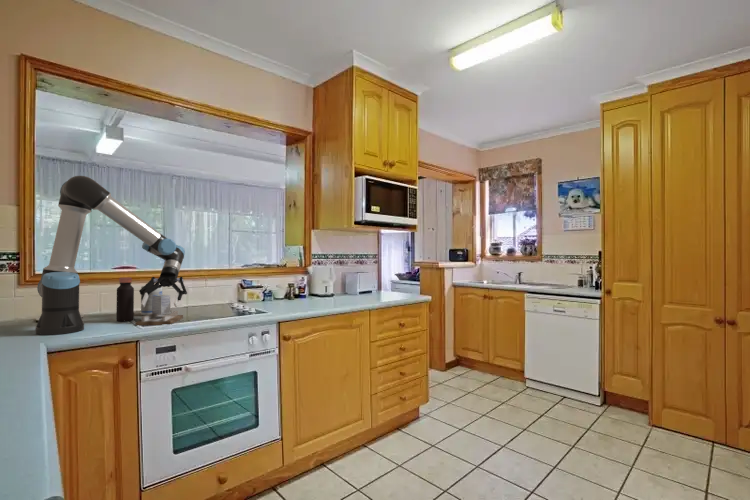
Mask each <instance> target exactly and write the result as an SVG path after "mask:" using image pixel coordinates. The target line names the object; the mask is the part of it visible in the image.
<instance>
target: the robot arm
mask: <svg viewBox="0 0 750 500" xmlns="http://www.w3.org/2000/svg"><path fill="white" fill-rule="evenodd" d="M59 195H60V197H59V201H58V205H57V206H58V207H59V208H60V210H61V213H60V215H59V221H58V223H57V224H58V225H57V229H56V233H55V238H54V240H53V247H52V251H51V255H50V259H49V263H48V265H46V266H45V267H43V269H42V274H41V276H40V277H41V278H40V280H39V282H38V283H37V287H36V288H37V289H36V290H37V293H38V295H39V296H40V297H41V314H40V317H39V319H38V321H37V324H36V326H35V330H34V331H35V332H34V333H35V334H36V335H42V336H43V335H44V336H45V335H46V336H50V335H52V336H53V335H63V334H71V333H76V332H81V331H83V330H84V329H85V322H84V320H83V317H82V314H81V312H80V283H81V280H80V275H79V274H78V271H77V270H76V268H75V266H76V261H77V258H78V257H77V256H78V252H79V248H80V243H81V239H82V235H83V231H84V226H85V221H86V216H87V215H88V214H90V213H92V210H95V211H96V210H97V211H99V212H100V213H102V214H103V215H105V216H106V217H107V218H109V219H110V220H111V221H113V222H115V223H116V224H117V225H119V226H120V227H121V228H123V229H124V230H126V231H127V232H129V233H130V234H131V235H133V236H135V237H137V239H138V240H141V241H142V242H143V243H142V245H141V246H142V247H141V249H143V250H144V251H146V252H147V253H150V254H152V255H154V256H155V257H158V258H160V259H161V260H164V263H163V265H162V269H161V271H160V275H159V277H158V278H157V277H155V276H152V277H151V278H150V279H149V281H148V282H146V283H145V284H144V285H143V286H144V287H143V288H140V289H139V290H138V291H139V294H140V300H141V299H142V303H141V302H140V306H141V305H142V307H143V308H145V305H146V302H147V299H148V297H149V296H148V295H149V294H150V293H152V292H153V291H155V290H156V289H158V288H161V287H162V288H165V287H167V288H170V287H172V288H173V289H174V290H175V291H176V295H175V298H174V301H173V305H174V307H175V308H177V307H178V304H179V301H181V300H182V299H183V295H185V296H186V295H188V292H187V289H186V286H185V284H184V277H183V276H179V273H180V271H181V267H182V264H183V260H184V259H185V254H186V250H185V248H184V247H183V246H181V245H177V244H176V241H174V240H173V239H171V238H169V237H166V236H165V235H163V234H162V233H161V232H159V231H158V230H157V229H155V228H154V227H153V226H151V225H150V224H149V223H147V222H146V221H144V220H143V219H142V218H140V217H139V216H138V215H137V214H135V213H134V212H132V211H131V210H130V209H128V208H127V207H126V206H125V205H123V204H122V203H121V202H119V201H118V200H116V199H115V198H114V197H113V196H112V194H111V192H110V191H108V190H107V189H106V188H104V187H103V186H102V185H101V184H99V183H98V182H97V181H96V180H94V179H93V178H92V177H91V178H90V177H88V176H85V175H75V176H72V177H70V178H69V179H68V180H67V181H65V182H64V183H63V184H62V185H61V186H60V190H59ZM177 282H178V283H179V284H180V287H181V288H180V287H179V286H178V285H177V284H176V283H177ZM141 295H142V297H141Z"/></svg>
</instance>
